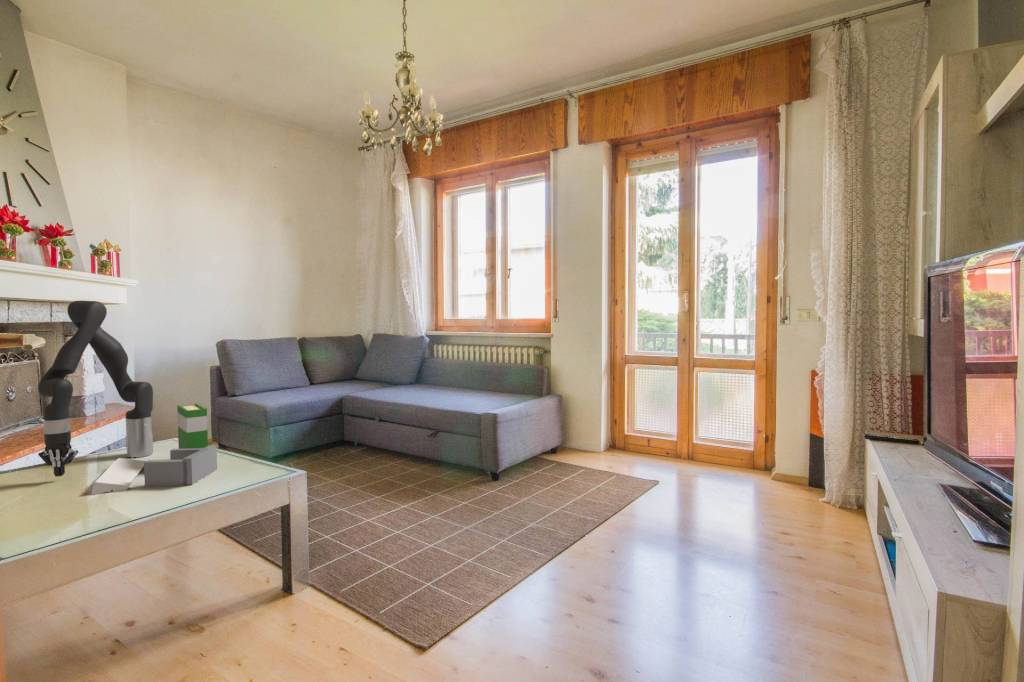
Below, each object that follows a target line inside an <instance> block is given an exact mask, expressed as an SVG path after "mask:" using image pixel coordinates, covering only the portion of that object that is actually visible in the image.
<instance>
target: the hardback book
mask: <svg viewBox="0 0 1024 682" xmlns="http://www.w3.org/2000/svg"><path fill="white" fill-rule="evenodd" d="M176 408H177V410H176V411H177V436H178V439H177V440H178V449H187V448H205V447H207V446H209V443H208V442H209V441H208V440H209V438H208V437H209V436H208V409H207V408H206V407H204V406H203V405H200V404H199V403H194V404H193V405H186V406H182V405H181V404H178V405H177V407H176Z"/></svg>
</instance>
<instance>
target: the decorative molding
mask: <svg viewBox="0 0 1024 682" xmlns="http://www.w3.org/2000/svg"><path fill="white" fill-rule="evenodd" d="M146 461H147V460H139V459H131V458H124V457H123V458H122V457H118V458H117V459H116V460H115V461H114V462H113V463H112V464H111V465H110V466H109V467H108V468H107V469H106V470H105V471H104V472H103V473H102V474H101V475H100V476H99V477H98V478H97V479H96V480H95V481H94V483H93V487H92V490H91V495H99V494H104V493H112V492H113V493H115V492H121V491H124V490H125V491H127V490H128V489H129V487H130V486H131V484H133V482H134V481H135V479H136V478H137V477H138V475H139V474H140V473H141V471H142V470H144V462H146Z"/></svg>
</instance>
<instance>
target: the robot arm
mask: <svg viewBox="0 0 1024 682" xmlns="http://www.w3.org/2000/svg"><path fill="white" fill-rule="evenodd" d="M107 312H108V311H107V307H106V306H105V304H104V303H102V302H101V301H95V300H75V301H74V300H73V301H71V302H70V303H69V304H68V306H67V315H68V318H69V319H70V320H71V322H72V323H73V325H74V326H75V327H76V328H77V330H76V332H75V333H74V334H73V335H72V337H70V338H69V339H68V340H67V341H66V342H65V343H64V344H63V345H62V346H61V347H60V349H59V350H58V352H57V355H56V357H55V358H54V360H53V363H52V365H51V367H49V369H48V370H47V371H46V373H45V374H44V375H43V376H42V378H40V380H39V382H38V385H37V391H38V393H39V394H40V395H41V396H42V397H45V398H46V397H47V398H48V397H49V398H51V402H50V403H48V404H45V405H44V408H43V440H44V443H43V444H44V445H45V447H44V450H42V451H40V452H38V454H37V455H38V457H39V458H41V460H42V461H44V463H45V464H46V465H47V466H51V467H52V468H53V476H55V478H57V477H62V476H64V474H65V473H66V471H65V470H66V465H68V464H70V463H71V462H72V461H73V460H74V458H75V457H76V456H77V455H78V454H79V451H78V450H76V449H75V450H74V449H73V448H72V445H71V441H72V434H71V433H72V430H71V421H70V405H71V401H72V397H73V393H74V385H73V384H72V382H71V381H70V380H69V379H66V377H67V376H69V375H72V374H74V373H75V372H76V370H77V368H78V366H79V364H80V361H81V359H82V357H83V354H84V353H85V350H86V348H87V347H88V345H89V346H90V347H91V349H92V351H94V353H95V354H96V357H97V358H98V360H99V362H100V363H101V364H102V366H103V367H104V368H105V370H106V373H108V375H109V377H110V378H111V380H112V382H113V384H114V386H115V388H116V391H117V393H118V396H119V397H120V398H121V399H122V401H124V402H127V403H134V408H133V409H130V410H127V411H126V412H125V436H126V439H125V440H126V457H127V458H129V457H131V458H133V459H134V457H136V458H143V457H147V456H150V455H152V454H153V453H154V441H153V439H154V438H153V437H154V436H153V431H152V412H153V408H154V403H153V402H154V390H153V386H152V384H151V383H150V382H148V381H134V380H133V379H132V378H131V377H130V375H129V373H128V371H127V370H128V364H129V356H128V353H127V352H126V351H125V349H124V347H123V345H122V344H121V343H120V342H119V341H118V340H117V338H115V337H114V336H112V335H111V334H109V333H108V332H107V331H106V330H104V329H103V328H102V327H101V326H102V324H103V322H104V321H105V319H106V317H107V314H108V313H107ZM131 458H130V459H131Z"/></svg>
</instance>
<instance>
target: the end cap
mask: <svg viewBox="0 0 1024 682" xmlns="http://www.w3.org/2000/svg"><path fill="white" fill-rule="evenodd" d="M217 450H218V449H217V445H215V444H214V445H213V444H212V445H208V446H207V447H205V448H187V449H179V448H172V449H170V450H169V455H170V456H169V457H170V459H158V460H157V459H156V460H155V459H152V460H150V459H149V460H145V461H146V462H144V467H143V471H144V472H143V473H144V487H169V486H170V487H171V486H175V485H177V486H192V485H191V484H193V485H194V483H195V482H196V483H198V482H199V481H198V480H200V479H201V478H203V477H204V478H206V477H207V476H206V475H208V474H209V475H211V474H212V473H214V472H215V471H214V470H216V469H217V470H218V456H217V455H218V453H217V452H218V451H217ZM217 470H216V471H217ZM213 471H214V472H213ZM211 472H212V473H211ZM210 473H211V474H210ZM209 475H208V476H209ZM205 476H206V477H205ZM204 478H203V479H204ZM201 480H202V479H201ZM201 480H200V481H201ZM197 481H198V482H197ZM196 483H195V484H196ZM175 487H176V486H175Z"/></svg>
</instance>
